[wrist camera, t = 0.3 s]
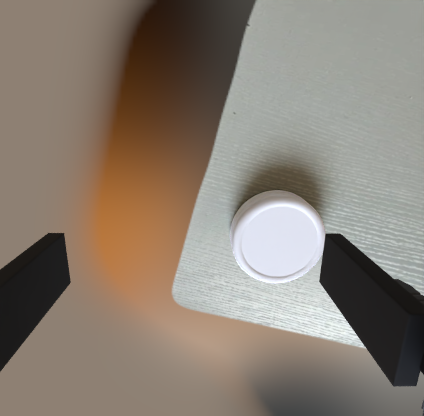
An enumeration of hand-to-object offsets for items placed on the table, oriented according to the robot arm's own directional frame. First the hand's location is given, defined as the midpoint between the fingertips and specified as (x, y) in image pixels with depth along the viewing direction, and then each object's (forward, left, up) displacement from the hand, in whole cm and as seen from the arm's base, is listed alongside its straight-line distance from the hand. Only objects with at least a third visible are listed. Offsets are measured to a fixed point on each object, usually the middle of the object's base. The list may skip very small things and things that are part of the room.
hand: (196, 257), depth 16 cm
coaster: (+6, +9, -19) cm, 21 cm away
